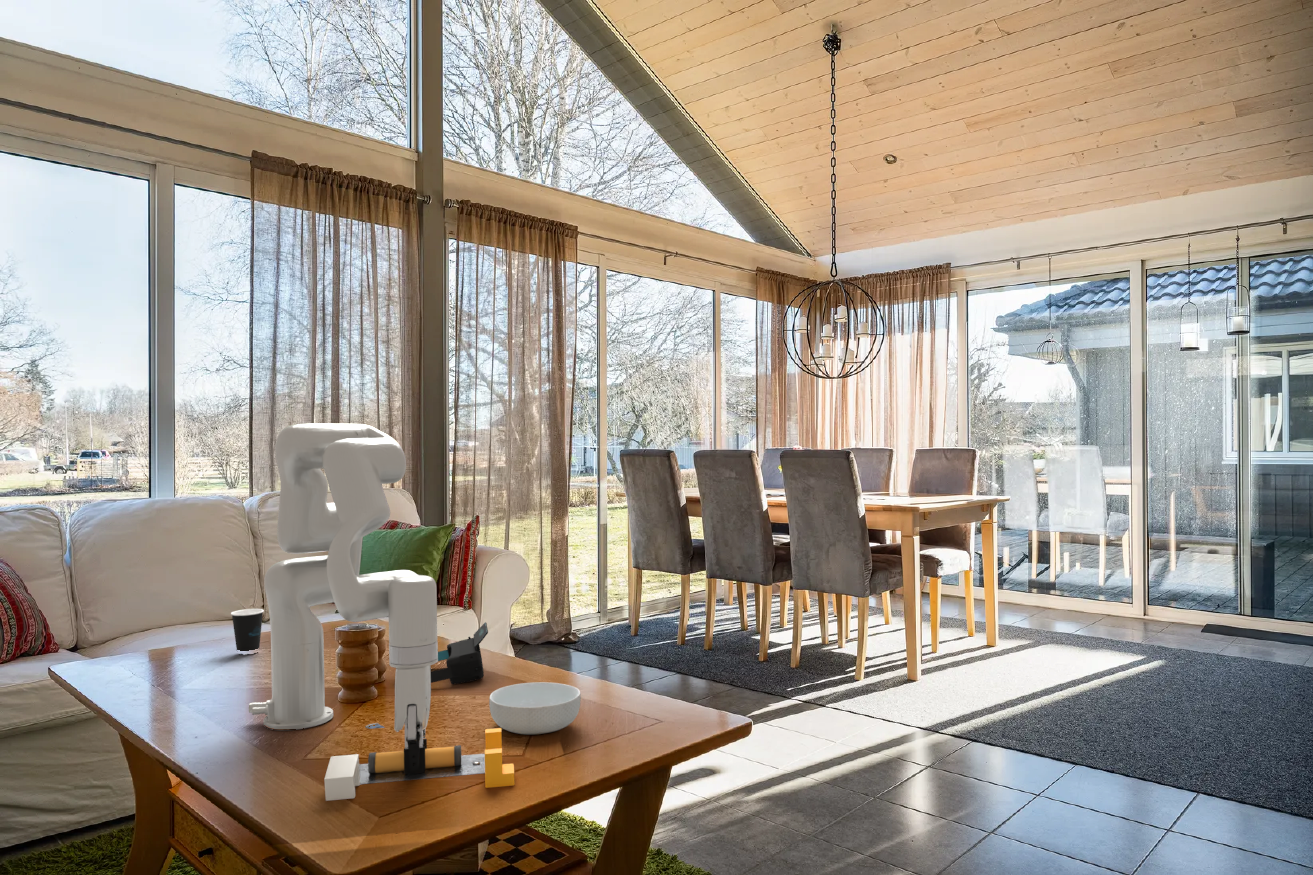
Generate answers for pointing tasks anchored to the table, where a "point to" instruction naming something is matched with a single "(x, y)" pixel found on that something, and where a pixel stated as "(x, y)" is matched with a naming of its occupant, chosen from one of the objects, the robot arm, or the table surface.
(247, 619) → the dixie cup
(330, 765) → the white u-shaped block
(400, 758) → the handle
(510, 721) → the cereal bowl
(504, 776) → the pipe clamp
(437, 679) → the virtual reality headset
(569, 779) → the table surface
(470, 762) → the mounting plate
